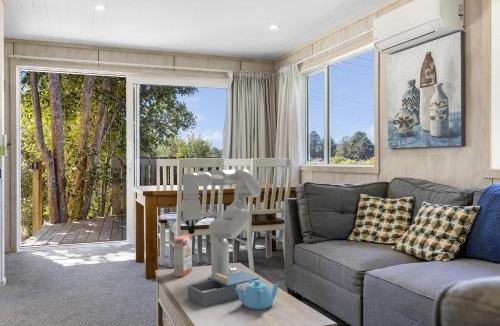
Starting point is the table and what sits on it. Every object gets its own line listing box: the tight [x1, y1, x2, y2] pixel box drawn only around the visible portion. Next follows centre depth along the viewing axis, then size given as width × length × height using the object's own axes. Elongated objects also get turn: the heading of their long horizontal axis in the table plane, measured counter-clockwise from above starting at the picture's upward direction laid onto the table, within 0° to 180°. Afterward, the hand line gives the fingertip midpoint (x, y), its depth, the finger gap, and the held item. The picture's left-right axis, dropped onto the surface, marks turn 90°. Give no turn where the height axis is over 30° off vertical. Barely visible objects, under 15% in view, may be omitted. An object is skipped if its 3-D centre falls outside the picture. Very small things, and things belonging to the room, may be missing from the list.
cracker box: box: [173, 234, 193, 278], centre depth 235 cm, size 14×6×21 cm, turn 168°
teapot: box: [235, 279, 280, 311], centre depth 183 cm, size 15×15×11 cm
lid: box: [212, 270, 260, 287], centre depth 200 cm, size 18×14×3 cm
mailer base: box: [187, 279, 238, 308], centre depth 193 cm, size 18×14×6 cm
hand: (191, 233), depth 210 cm, fingers closed
